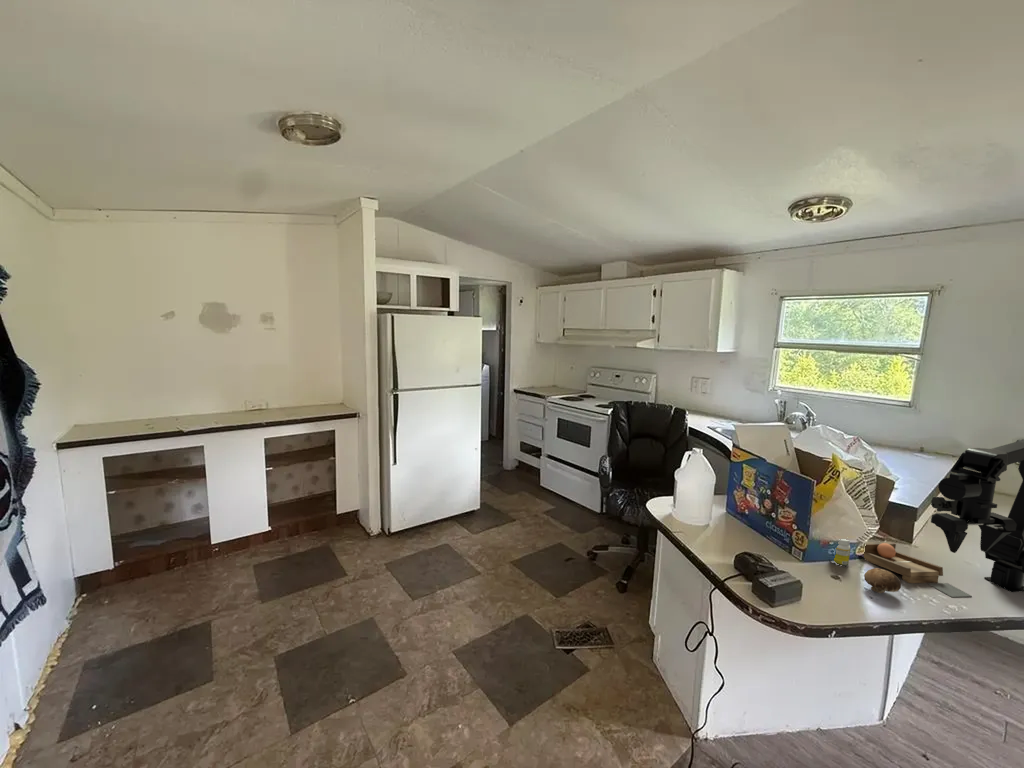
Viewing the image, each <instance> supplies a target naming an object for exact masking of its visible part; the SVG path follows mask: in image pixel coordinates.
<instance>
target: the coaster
mask: <svg viewBox="0 0 1024 768" xmlns="http://www.w3.org/2000/svg"><path fill="white" fill-rule="evenodd" d="M927 585H928V586H930V587H932V588H933V589H935V590H938V591H940V592H941V593H942V594H944V595H946V596H948V597H950V598H972V597H973V596H972V595H971V594H970V593H967V592H966V591H964V590H961V589H960V588H958V587H956V586H954V585H952V584H950V583H948V582H937V583H927Z"/></svg>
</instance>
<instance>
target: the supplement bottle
mask: <svg viewBox="0 0 1024 768" xmlns="http://www.w3.org/2000/svg"><path fill="white" fill-rule="evenodd" d="M850 541H851V540H846V539H841V540H840V539H839V542H838V544H839V545H838V546H837V548H836V555H835V558H834V561H835V562H836V563H837V564H839V565H842V566H848V567H849V563H850V555H851V554H850V553H851V545H850V544H851V542H850Z"/></svg>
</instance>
